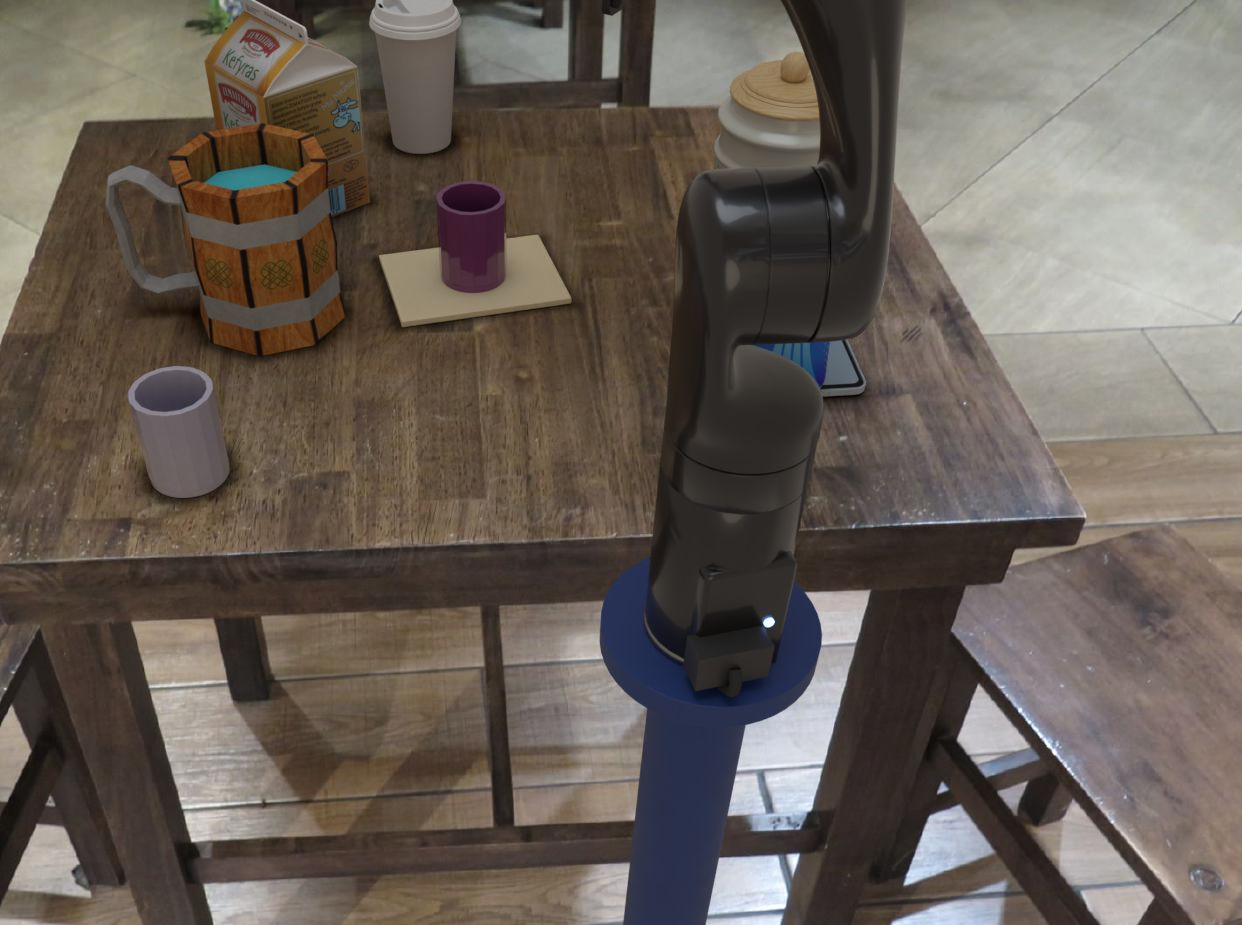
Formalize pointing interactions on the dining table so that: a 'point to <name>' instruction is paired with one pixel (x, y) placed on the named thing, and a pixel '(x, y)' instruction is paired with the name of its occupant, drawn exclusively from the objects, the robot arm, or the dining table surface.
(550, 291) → the placemat
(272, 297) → the mug
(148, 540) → the dining table surface
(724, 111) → the jar
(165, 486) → the grey cup
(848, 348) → the smartphone
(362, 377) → the dining table surface
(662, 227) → the dining table surface
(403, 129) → the coffee cup
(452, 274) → the plum cup
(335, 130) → the milk carton
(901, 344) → the dining table surface
